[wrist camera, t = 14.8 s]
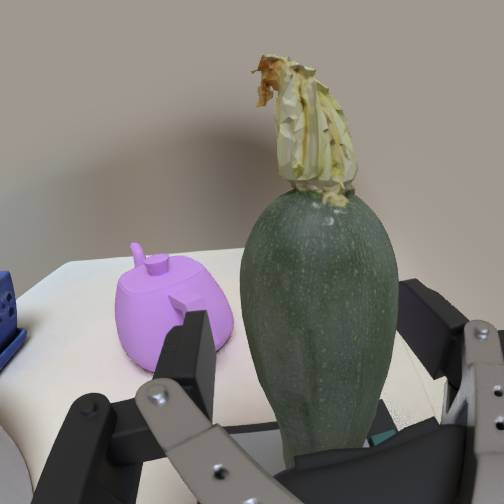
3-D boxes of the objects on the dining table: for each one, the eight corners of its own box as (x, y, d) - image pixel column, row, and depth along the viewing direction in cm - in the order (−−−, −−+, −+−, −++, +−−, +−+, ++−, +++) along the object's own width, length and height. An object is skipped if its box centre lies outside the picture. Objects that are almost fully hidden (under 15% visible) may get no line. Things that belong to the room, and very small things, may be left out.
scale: (377, 416, 20) (384, 390, 19) (429, 542, 8) (451, 529, 7) (209, 443, 20) (199, 419, 19) (205, 586, 8) (189, 583, 7)
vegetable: (361, 494, 11) (426, 37, 4) (294, 530, 10) (252, -13, 3) (323, 448, 15) (320, 68, 8) (261, 476, 14) (190, 66, 7)
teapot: (187, 294, 46) (173, 226, 42) (271, 353, 30) (261, 258, 27) (110, 325, 38) (86, 254, 35) (159, 413, 23) (116, 314, 19)
